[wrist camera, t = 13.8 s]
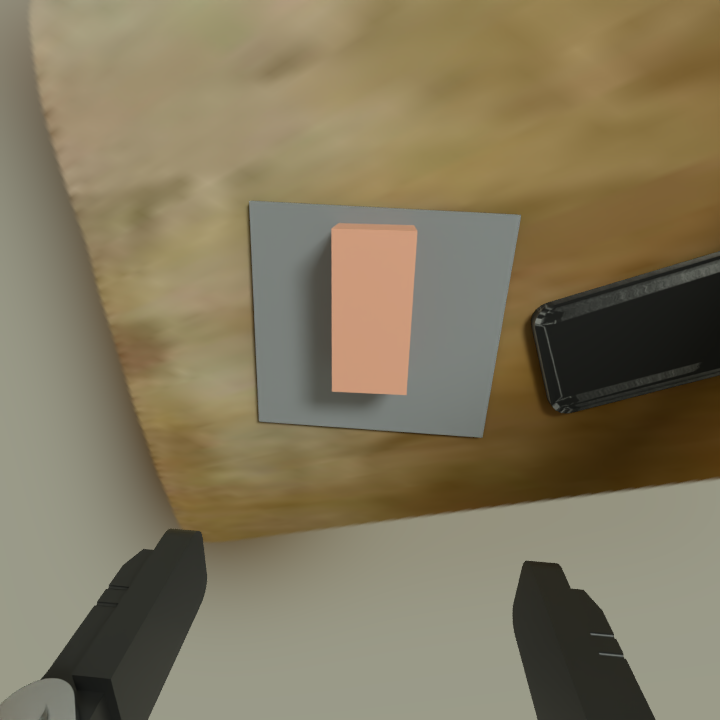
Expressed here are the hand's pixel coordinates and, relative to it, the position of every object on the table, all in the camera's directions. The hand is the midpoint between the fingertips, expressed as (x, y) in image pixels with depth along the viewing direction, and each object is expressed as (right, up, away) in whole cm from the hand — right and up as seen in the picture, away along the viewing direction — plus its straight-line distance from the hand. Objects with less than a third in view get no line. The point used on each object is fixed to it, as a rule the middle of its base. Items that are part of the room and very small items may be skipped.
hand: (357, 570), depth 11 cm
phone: (+19, +7, +18) cm, 27 cm away
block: (+1, +4, +17) cm, 18 cm away
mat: (+1, +7, +18) cm, 20 cm away
